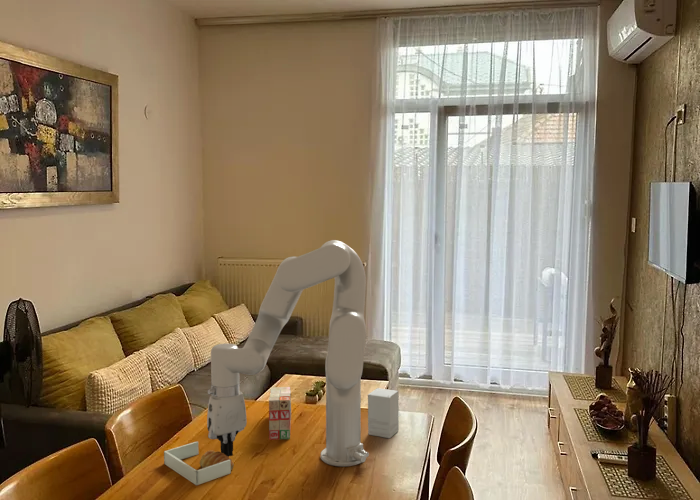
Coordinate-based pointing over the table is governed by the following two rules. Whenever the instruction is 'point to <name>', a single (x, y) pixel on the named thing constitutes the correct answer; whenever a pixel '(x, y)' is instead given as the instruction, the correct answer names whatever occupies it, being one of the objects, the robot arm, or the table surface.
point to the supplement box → (383, 413)
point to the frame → (195, 476)
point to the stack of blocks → (279, 413)
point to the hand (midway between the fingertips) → (227, 454)
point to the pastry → (213, 459)
